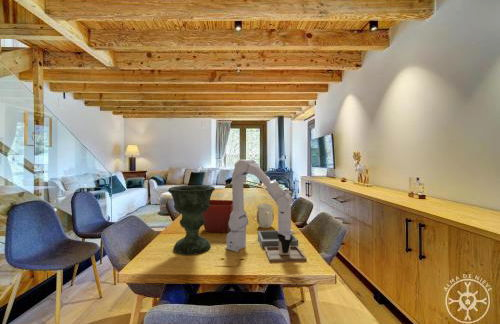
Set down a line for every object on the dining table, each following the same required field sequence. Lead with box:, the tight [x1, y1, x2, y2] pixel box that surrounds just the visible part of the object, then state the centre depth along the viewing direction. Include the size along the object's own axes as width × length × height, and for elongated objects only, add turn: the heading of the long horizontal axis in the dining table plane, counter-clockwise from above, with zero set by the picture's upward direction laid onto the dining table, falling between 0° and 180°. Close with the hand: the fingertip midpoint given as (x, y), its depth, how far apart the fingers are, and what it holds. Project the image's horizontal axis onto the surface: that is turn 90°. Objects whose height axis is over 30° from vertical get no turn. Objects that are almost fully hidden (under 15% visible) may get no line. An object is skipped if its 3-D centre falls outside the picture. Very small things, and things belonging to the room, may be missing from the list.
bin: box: [257, 230, 299, 249], centre depth 143 cm, size 18×18×4 cm
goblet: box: [167, 184, 216, 256], centre depth 134 cm, size 22×23×30 cm
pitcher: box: [256, 202, 275, 229], centre depth 174 cm, size 11×18×14 cm, turn 8°
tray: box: [264, 245, 308, 263], centre depth 124 cm, size 16×16×2 cm
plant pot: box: [202, 199, 233, 233], centre depth 168 cm, size 19×19×17 cm
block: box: [278, 241, 290, 255], centre depth 124 cm, size 4×4×4 cm
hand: (284, 250), depth 124 cm, fingers closed on block, 4 cm apart
